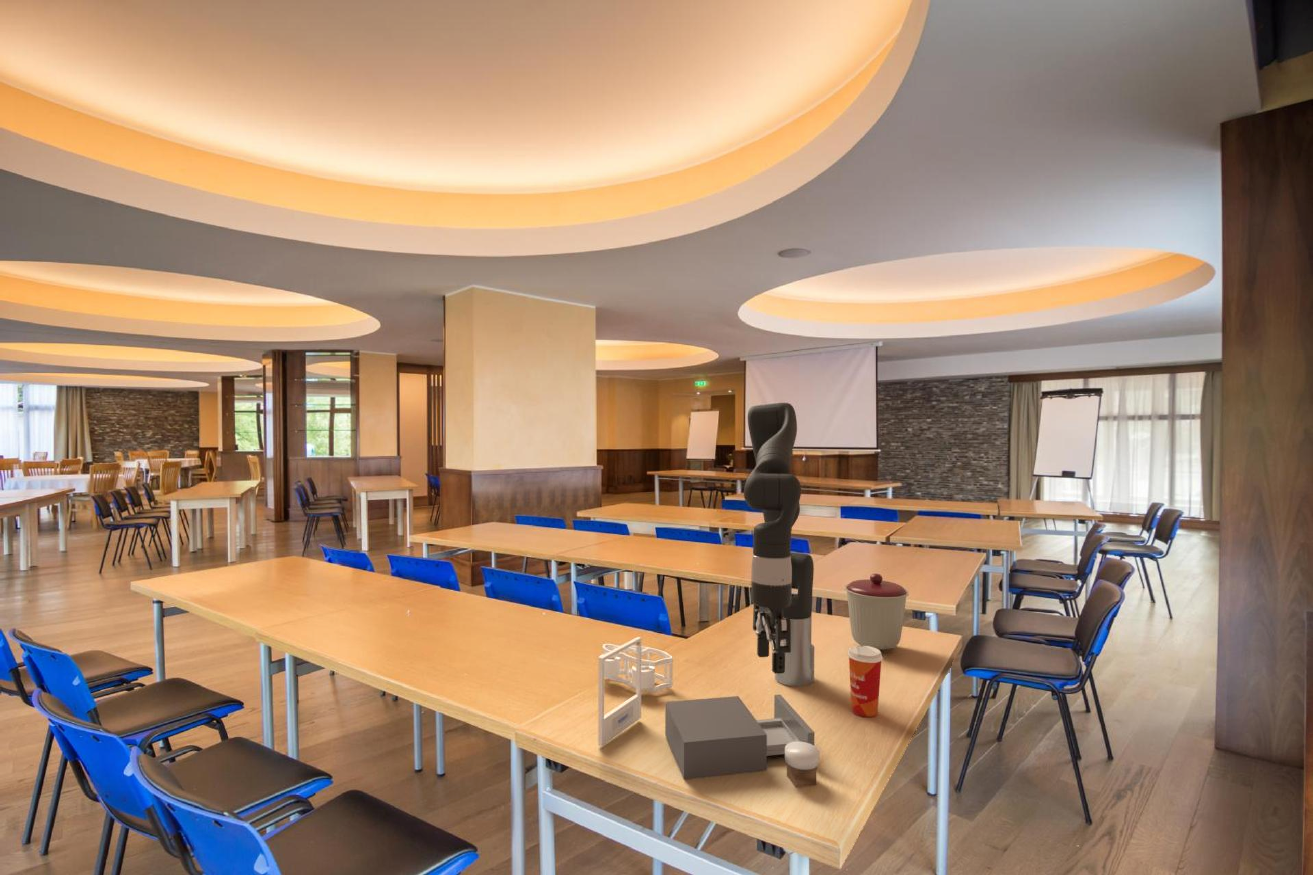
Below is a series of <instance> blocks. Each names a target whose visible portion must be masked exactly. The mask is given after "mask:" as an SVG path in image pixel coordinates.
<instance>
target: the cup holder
mask: <svg viewBox="0 0 1313 875" xmlns="http://www.w3.org/2000/svg"><path fill="white" fill-rule="evenodd" d="M620 646H621V645H617V644H613V643H604V644H602V652H603V653H602V654H601V655H599V657H601V656H602V655H604V654H606V653H608V652H610V651H612V650H614V649H616V648H618V647H620ZM627 652H628V653H630V654H634V655H636V645H632V646H630V647H629V648H627V649H625V650H623V651H621V652H619V653H617V654H616V655H614V656H612V657H610V658H608V659H606V660H605V661H604V679H607V680H610V681H613V682H617V683H618V682H619V683H622V684H624V685H627V686H628V687H631V688H633V689H636V657H634V656H632V655H630V654H629V655H628V654H627ZM651 654H654V655H658V656H662V657H663V658H661V659H658V660H654V661H653V660H651ZM645 655H646V656H647V659H643V656H645ZM599 657H598V658H599ZM622 659H623V669H622ZM673 660H674V659H673V656H672V655H671V654H669V653H668V652H666V651H664V650H660V649H657V648H653V647H650V646H643V645H641V691H646V692H651V693H657V692H659V691H662V690H665V689H670V688H673V686H674V684H673V682H674V681H673V680H674V678H673V676H674V675H673V673H674V672H673V669H674V666H673V665H674V664H673ZM630 663H633V665H632V666H631V669H630ZM668 664H669V670H668ZM660 665H663V674H660V673H657V672H656V667H658V666H660ZM668 671H669V674H668ZM620 675H625V677H623V676H620ZM668 675H669V677H668ZM630 678H631V680H630ZM656 679H657V680H659V681H662V682H664V683H661V684H657V685H655V684H656Z"/></svg>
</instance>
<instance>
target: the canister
mask: <svg viewBox="0 0 1313 875" xmlns="http://www.w3.org/2000/svg"><path fill="white" fill-rule="evenodd" d="M883 579H884V578H883V576H882V574H880V573H872V574H870V577H869V579H857V580H853V581H851V582H849V583H848V584H846V585H845V586H844V590H845V591H846V596H847V605H848V615H849V616H848V617H849V624H850V631H851V636H852V638H853V641H854V642H855V643H857V644H858V646H862V647H864V646H870V647H874V648H876V649H878V650H879V651H881V650H891V649H894V648H896V647H897V646H899V644H900V641H901V638H902V632H903V627H904V626H903V625H904V618H905V610H906V601H907V597H909V590H908V589H906V588H904V587H903V586H902V585H900V584H898V583H895V582H893V581H887V580H883Z"/></svg>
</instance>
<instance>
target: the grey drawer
mask: <svg viewBox="0 0 1313 875" xmlns="http://www.w3.org/2000/svg"><path fill="white" fill-rule="evenodd" d="M773 698H774V700H773V701H774V703H773V706H774V708H773V710H774V715H773V716H774V717H773V718H766V719H756V721H757V722H758V723H759V725H760V726H761V727H762V729H763V730H764V732H765V733H766V734H767V757H768V756H779V755H785V746H786V745H787V744H788V743H791V742H797V741H799V742H806V743H809V744H812V745H814V746H815V731H814V730H813V729H812V728H811V727H810V726H809V724H807V722H806V721H805V720H804V718H802V716H800V714H799V713H798V712H797V711H796V710H795V709H794V708H793V707H792V706H791V704H790V703H789V702H788V701H787V700H786V699H785V698H784V696H782V694H774V697H773Z"/></svg>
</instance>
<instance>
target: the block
mask: <svg viewBox="0 0 1313 875" xmlns="http://www.w3.org/2000/svg"><path fill="white" fill-rule="evenodd" d="M817 768H818V766H817V767H815V768H813V769H809V770H802V769H797V768H794V767H792V766H790V765H788V764H787V763H786V777H787V778H788V779H789V781H790V782H791V784H792V785H793V786H794V787H795V788H801V787H809V786H816V785H817Z"/></svg>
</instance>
